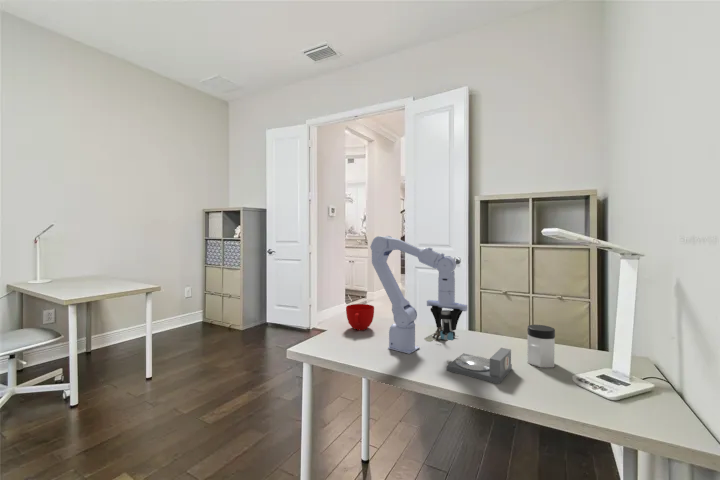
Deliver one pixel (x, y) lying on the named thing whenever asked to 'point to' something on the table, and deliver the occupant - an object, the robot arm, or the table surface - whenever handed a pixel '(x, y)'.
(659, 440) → the table surface
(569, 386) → the table surface
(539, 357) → the jar
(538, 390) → the table surface
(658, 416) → the table surface
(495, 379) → the postal scale
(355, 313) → the ceramic cup
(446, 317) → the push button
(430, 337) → the eiffel tower figurine
